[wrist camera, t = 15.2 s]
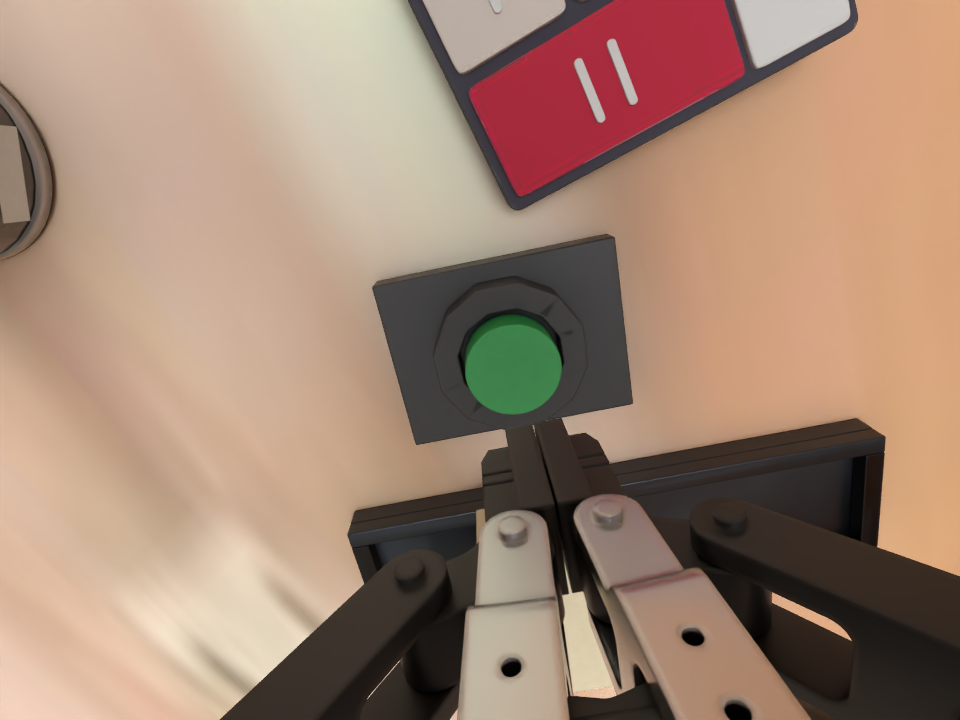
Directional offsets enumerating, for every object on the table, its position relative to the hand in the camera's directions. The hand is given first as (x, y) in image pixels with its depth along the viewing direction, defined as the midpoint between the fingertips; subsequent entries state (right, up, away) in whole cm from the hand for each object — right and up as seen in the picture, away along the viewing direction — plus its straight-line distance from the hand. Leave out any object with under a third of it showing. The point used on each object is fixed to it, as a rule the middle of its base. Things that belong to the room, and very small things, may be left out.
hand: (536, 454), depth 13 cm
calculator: (+4, +18, +9) cm, 21 cm away
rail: (+6, -8, +18) cm, 21 cm away
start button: (0, +3, +12) cm, 12 cm away
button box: (0, +4, +14) cm, 15 cm away
